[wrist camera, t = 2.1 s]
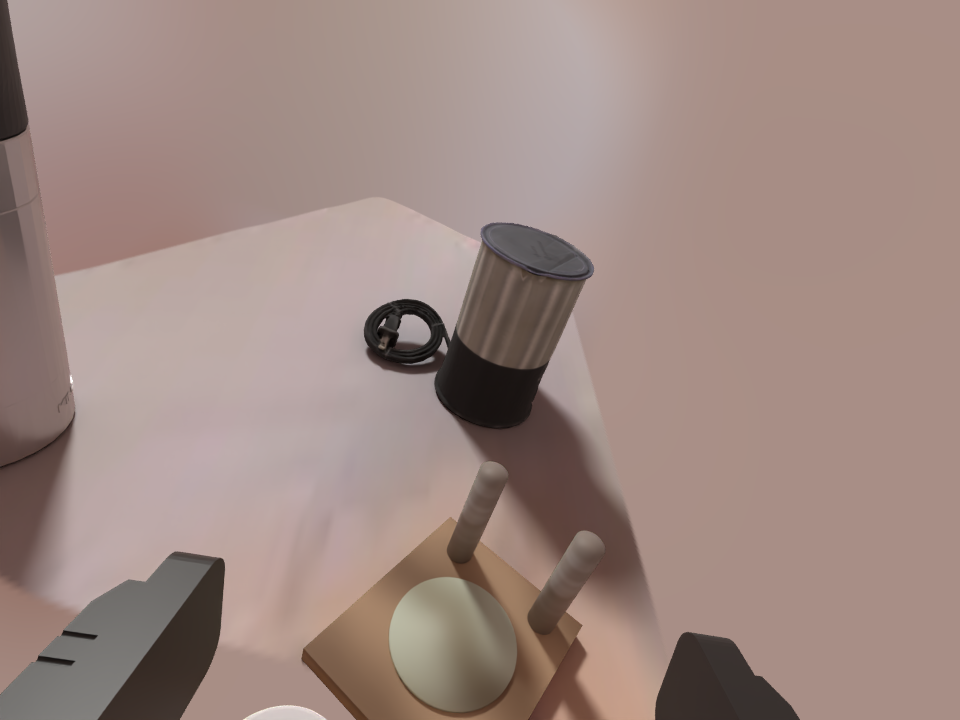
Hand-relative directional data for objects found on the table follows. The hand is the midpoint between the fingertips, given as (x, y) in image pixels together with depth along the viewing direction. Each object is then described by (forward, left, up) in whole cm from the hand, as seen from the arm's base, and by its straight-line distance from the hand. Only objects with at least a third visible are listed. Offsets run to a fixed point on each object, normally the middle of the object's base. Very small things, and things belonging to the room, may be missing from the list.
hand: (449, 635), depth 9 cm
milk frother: (+19, +29, -19) cm, 39 cm away
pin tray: (+8, +6, -18) cm, 21 cm away
